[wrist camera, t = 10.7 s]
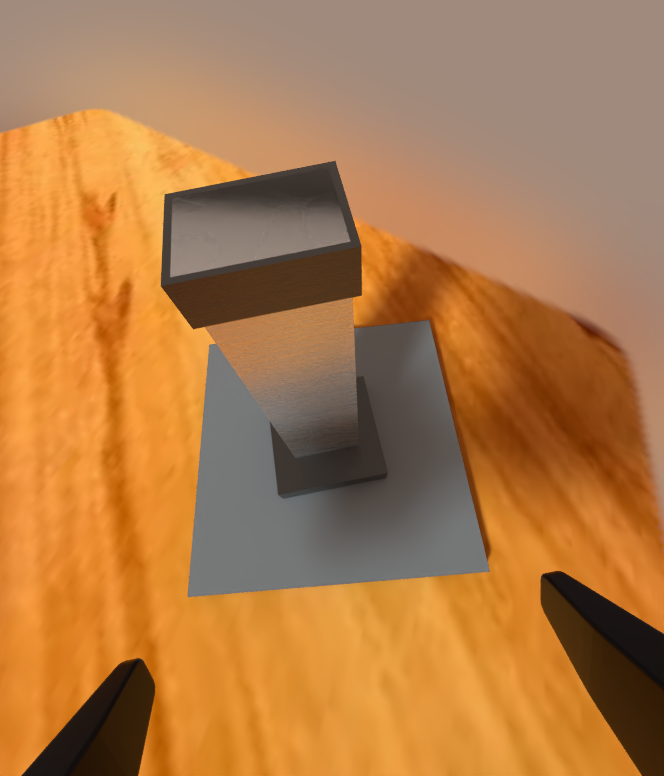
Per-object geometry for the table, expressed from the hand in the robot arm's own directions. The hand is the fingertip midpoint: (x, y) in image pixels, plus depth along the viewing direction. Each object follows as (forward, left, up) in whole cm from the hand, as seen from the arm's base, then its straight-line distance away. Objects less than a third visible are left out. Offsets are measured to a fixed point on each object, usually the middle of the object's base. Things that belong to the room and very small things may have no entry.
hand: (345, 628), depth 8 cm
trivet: (+7, +1, -9) cm, 11 cm away
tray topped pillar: (+7, +1, -8) cm, 11 cm away
